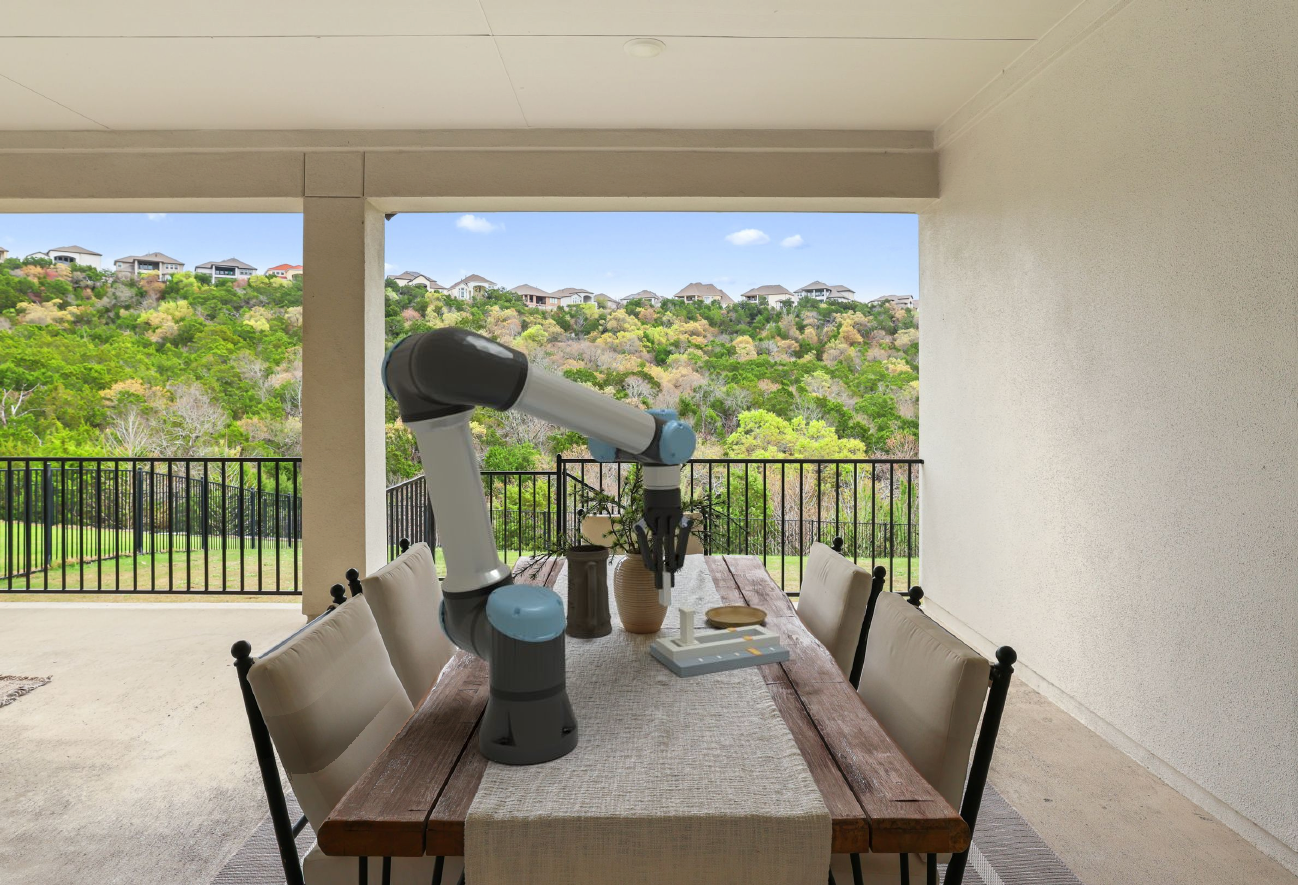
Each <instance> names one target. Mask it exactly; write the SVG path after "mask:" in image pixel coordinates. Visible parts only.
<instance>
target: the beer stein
mask: <svg viewBox="0 0 1298 885" xmlns="http://www.w3.org/2000/svg"><path fill="white" fill-rule="evenodd" d="M609 558H610V553H609V548H608V546H605V545H604V544H603V545H601V544H579V545H573V546H570V547H568V548H566V553H565V559H566V560H567V604H566V605H567V606H566V607H567V610H566V611H567V612H566V613H567V614H566V616H565V618H566V625H565V635H568V636H569V637H571V638H576V639H577V638H578V639H595V638H602V637H605V636H609V634H611V633H612V632H613V626H612V623H611V621H612V620H611V619H612V615H611V612H610V600H609V599H610V598H609V597H610V596H609V587H608V560H609Z"/></svg>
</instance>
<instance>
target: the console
mask: <svg viewBox="0 0 1298 885" xmlns="http://www.w3.org/2000/svg"><path fill="white" fill-rule="evenodd" d="M674 640H680V635H675V636H669V637H661V638H656V639H655V642H654V643H649V654H650V655H651V656H653V657H654V658H655V659H657V660H658V661H659V662H660V663H662V664H663V665H664V666H666V667H667V669H670V671H672V672H673V673H674V674H676V675H677V676H679V677H680V678H682V679H683V678H688V677H694V676H701V675H706V674H712V673H718V672H719V673H720V672H724V671H729V670H731V671H732V670H738V669H744V668H751V667H755V666H762V665H769V664H773V663H781V662H785V661H790V658H791V657H790V656H791V655H790V654H791V653H790V650H789V649H787V648H786V647H784V646H782V645H781V636H780V635H779V634H777V633H775V632H774V631H771V630H769V629H767V628H765V627H763V626H761V624H760V625H754V626H746V627H739V628H727V629H720V630H711V631H705V632H698V633H694V640H696V641H698V642H699V643H700V644H697V645H690V646H684V647H678V646H676V645H675V644H674Z"/></svg>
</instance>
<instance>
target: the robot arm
mask: <svg viewBox="0 0 1298 885" xmlns="http://www.w3.org/2000/svg"><path fill="white" fill-rule="evenodd" d="M380 375H381V381H382V382H381V383H382V385H383V387H384V389H385V391H386V393H387V394H388V395H389V397H391V399H392V400H393V401H394V402H395V403H397V407H398V410H399V411H398V412H399V414H400V420H401V422H402V425H403V426H404V427H407V428H408V429H410V430H411V431H412V432H413V434H414V435H415V439H416V443H417V447H418V448H417V449H418V452H419V457H420V461H421V465H422V470H423V474H424V478H425V482H426V486H427V491H428V494H429V495H428V496H429V500H430V504H431V508H432V512H433V516H434V522H435V526H436V530H437V534H438V539H439V542H440V546H441V552H442V555H443V560H444V562H445V564H444V565H445V568H446V575H445V576H444V578H443V580H441V583H440V588H441V593H442V600H440V603H439V607H438V621H439V622H438V623H439V625H440V629H441V631H442V632H443V634H444V635H445V637H446V638H447V639H448V640H449V641H450V642H451V643H452V644H453V645H454V646H456V647H457V648H458V649H460V650H461V651H465V652H466V653H469V654H471V655H473V656H475V657H477V658H478V659H481V660H483V661H484V662H487V663H488V674H489V675H488V677H489V679H488V681H489V698H488V700H487V705H486V708H485V712H484V715H483V718H482V722H481V725H480V728H479V734H478V742H479V743H478V744H479V746H478V747H479V748H478V749H479V751H480V753H481V755H483V757H486V758H487V759H489V760H491V761H493V760H496V761H495V762H498V763H502V764H509V765H531V764H538V763H544V762H549V761H551V760H555V759H557V758H560V757H563V756H565V755H566V754H568V753H569V752H571V751H572V750H573V749H574V748H576V746H577V745H578V743H579V737H580V736H579V724H578V720H577V717H576V714H575V711H574V709H573V706H572V704H571V700H570V697H569V695H568V690H567V672H566V670H567V668H566V667H567V665H566V663H567V662H566V626H567V620H566V614H565V607H564V606H565V605H564V601H563V598H562V597H561V595H559V593H557V592H556V591H555V590H553V589H551V588H548V587H546V586H544V585H543V586H542V585H532V584H529V583H525V584H524V583H520V584H519V583H517V584H515V583H514V582H515V581H514V578H513V573H512V569H511V566H510V565H508V564H506V563H505V562H503V561H501V560H500V559H499V554H498V548H497V544H496V540H495V534H494V530H493V525H492V521H491V517H490V516H491V515H490V513H489V508H488V503H487V498H486V493H485V489H484V485H483V480H482V474H481V470H480V467H479V462H478V458H477V457H478V456H477V452H476V449H475V448H476V447H475V444H474V439H473V433H472V430H471V429H472V428H471V426H470V420H471V418H472V416H473V415H474V413H475V412H476V410H477V409H476V406H477V407H483V408H484V407H485V408H487V409H488V408H489V409H491V410H494V411H496V412H500V413H508V412H509V411H511V410H513V411H515V412H516V411H517V412H519V413H521V414H524V415H527V416H530V417H532V418H536V419H538V420H541V421H544V422H547V423H549V424H552V425H555V426H557V427H559V428H564V429H566V430H568V431H571V432H573V433H576V434H579V435H581V436H585V437H587V447H588V452H589V453H590V455H591V457H592V458H593V459H594V460H595V461H597V462H600V463H604V462H605V463H606V462H607V463H613V462H635V463H642V464H641V466H642V485H643V486H644V487H645V488H643V490H642V496H643V497H642V498H643V499H642V500H643V502H642V503H643V505H642V506H643V512H642V514H641V519H640V520H638V521H637V522H633V523H632V524H631V525H630V527H631V529H632V531H633V532H634V534H635V535H636V539H637V543H638V547H639V550H640V554H641V558H642V561H643V565H644V569H646V570H647V571H650V572H653V575H654V579H653V580H654V587H655V589H656V590H658V604H659V605H661V606H663V607H670V606H671V607H672V588H675V585H676V582H675V580H676V579H675V574H676V573H677V570H678V569H682V568H683V567H684V565H685V560H686V554H687V550H688V549H687V548H688V544H689V538H690V533H691V531H692V529H693V526H694V525H695V520H693V519H690V518H688V517H686V516H685V515H684V512H683V510H682V489H681V488H680V487H679V486H680V485H681V484H682V481H681V480H682V478H681V465H682V464H685V463H686V462H688V461H690V459H691V458H692V457H693V456H694V454H695V451H696V446H697V436H696V432H695V431H694V428H693V427H692V426H691V425H690V424H689V423H687V422H685V421H681V420H680V419H679V413H678V411H676V409H674V408H658V409H653V408H652V409H643V410H642V409H640V408H637V407H634V406H633V405H630V404H628V403H625V402H623V401H620V400H618V399H616V398H613V397H611V396H610V395H609V396H608V395H607V394H604V393H602V392H599V391H597V390H594V389H592V388H590V387H587V386H585V385H584V384H580V383H578V382H576V381H573V380H571V379H569V378H566V377H565V376H562V375H559V374H557V373H555V372H552V371H550V370H547V369H545V368H543V367H540V366H538V365H536V364H533V363H531V362H530V359H529V357H528V355H527V354H526V353H524V352H523V351H520V350H517V349H515V348H513V347H511V346H508V345H506V344H504V343H501V342H500V341H498V340H495V339H492V338H491V337H488V336H485V335H483V334H481V333H478V332H476V331H473V330H471V329H470V330H469V329H466V328H463V327H458V326H444V327H437V328H434V329H432V330H431V329H430V330H427V331H422V332H421V331H420V332H415V333H410V334H408V335H406V336H405V337H402V338H401V339H399V340H397V341H396V342H395V343H393V344H392V345H390V347H389V349H388V350H387V351H386V353H385V355H384V357H383V360H382V364H381V368H380ZM646 526H647V528H648V529H649V531H650V533H651V534H650V536H651V539H652V540H651V541H652V542H651V543H652V544H651V545H652V552H651V547H650V544H649V541H648V535H647V533H646ZM678 526H680V527H679V529H678V535H677V536H678V537H677V540H676V542H675V539H676V530H677V528H678ZM675 543H676V544H675ZM663 546H664V547H663ZM675 546H676V547H675ZM664 569H665V570H664Z"/></svg>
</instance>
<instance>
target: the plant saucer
mask: <svg viewBox="0 0 1298 885" xmlns="http://www.w3.org/2000/svg"><path fill="white" fill-rule="evenodd" d="M704 615H705V617H706V619H707V620H708V621H709V622H710V623H711V624H712V625H713V626H714V627H716V628H719V629H721V630H725V629H727V628H739V627H746V626H754V625H760V626H761V624H762V623H763V622H764V621H765V620H766V618H767V617H768V612H767V611H765V610H764V609H761V608H758V607H754V606H746V605H723V606H717V607H712V608H710V609H708V610H705V612H704Z"/></svg>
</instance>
